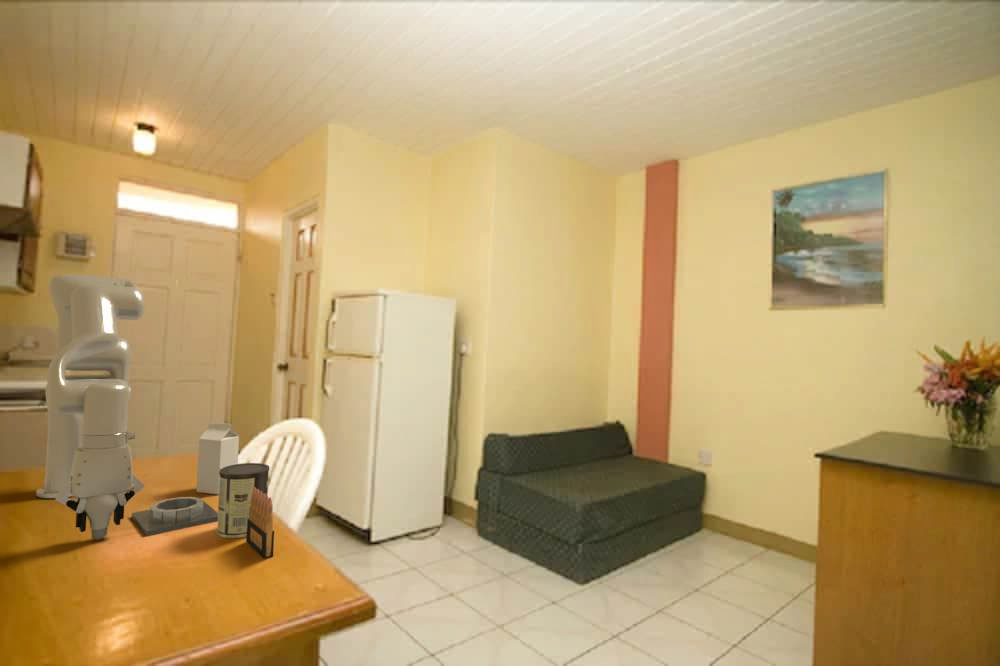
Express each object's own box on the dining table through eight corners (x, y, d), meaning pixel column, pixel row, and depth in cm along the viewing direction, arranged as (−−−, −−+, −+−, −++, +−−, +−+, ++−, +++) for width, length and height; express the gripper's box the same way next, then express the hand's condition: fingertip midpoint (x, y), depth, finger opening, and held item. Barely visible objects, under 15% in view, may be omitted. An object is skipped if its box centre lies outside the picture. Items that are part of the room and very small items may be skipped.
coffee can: (256, 518, 121) (259, 460, 121) (273, 530, 113) (276, 469, 114) (209, 528, 113) (212, 467, 113) (225, 542, 106) (228, 477, 106)
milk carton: (218, 495, 136) (221, 426, 136) (196, 492, 137) (199, 424, 138) (236, 487, 143) (240, 422, 143) (215, 485, 144) (219, 420, 145)
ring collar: (131, 517, 118) (132, 502, 118) (202, 503, 129) (202, 490, 129) (146, 536, 107) (146, 520, 107) (221, 520, 118) (222, 505, 118)
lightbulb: (76, 547, 101) (78, 493, 101) (84, 536, 106) (87, 485, 106) (113, 542, 103) (115, 490, 103) (120, 532, 109) (122, 482, 109)
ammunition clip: (273, 556, 100) (276, 497, 101) (263, 559, 99) (266, 499, 99) (255, 540, 108) (257, 485, 108) (245, 542, 107) (248, 486, 107)
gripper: (148, 433, 114) (144, 512, 114) (48, 442, 101) (43, 531, 101) (156, 439, 109) (152, 522, 108) (52, 449, 96) (47, 542, 96)
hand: (99, 525), depth 105 cm, fingers closed on lightbulb, 5 cm apart
